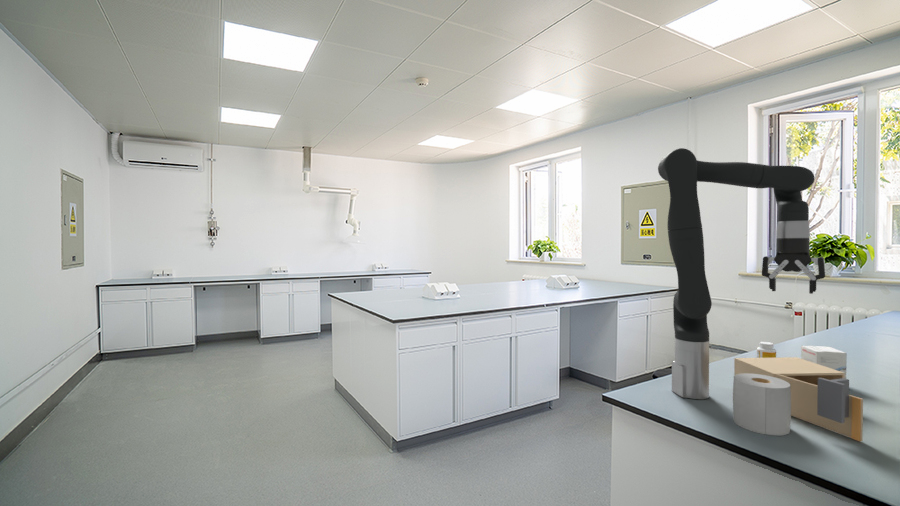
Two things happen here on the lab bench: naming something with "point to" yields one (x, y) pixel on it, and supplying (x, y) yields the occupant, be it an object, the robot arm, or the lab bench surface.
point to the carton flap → (827, 405)
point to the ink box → (825, 357)
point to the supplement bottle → (766, 350)
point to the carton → (786, 368)
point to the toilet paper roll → (762, 404)
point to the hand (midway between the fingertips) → (792, 292)
